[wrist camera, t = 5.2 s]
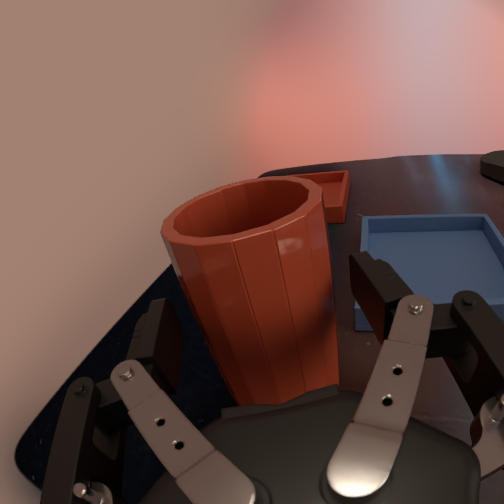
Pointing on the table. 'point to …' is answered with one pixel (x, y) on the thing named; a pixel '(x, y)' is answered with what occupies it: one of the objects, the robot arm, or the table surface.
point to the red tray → (332, 192)
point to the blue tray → (438, 256)
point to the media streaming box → (493, 165)
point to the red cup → (260, 285)
